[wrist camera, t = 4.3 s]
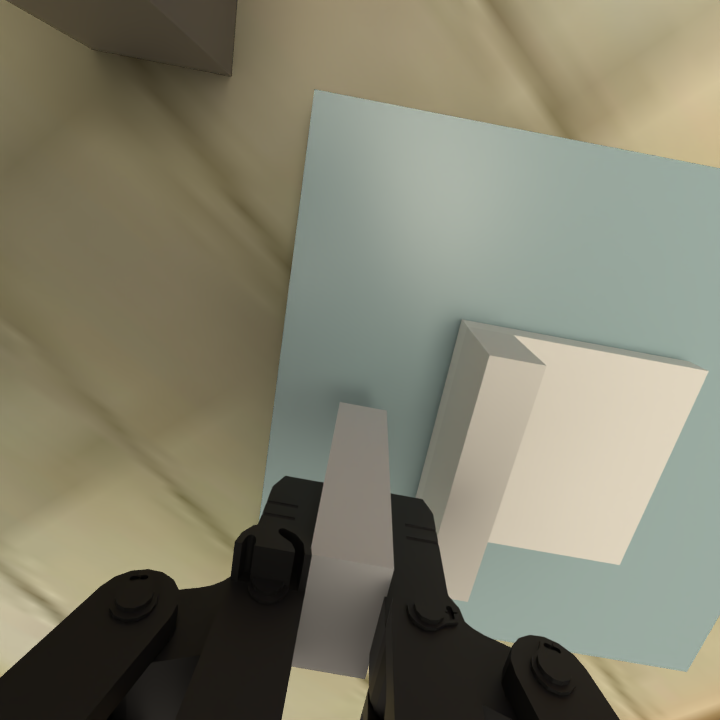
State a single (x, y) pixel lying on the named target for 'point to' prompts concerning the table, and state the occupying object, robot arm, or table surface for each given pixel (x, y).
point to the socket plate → (516, 311)
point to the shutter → (548, 446)
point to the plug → (148, 28)
